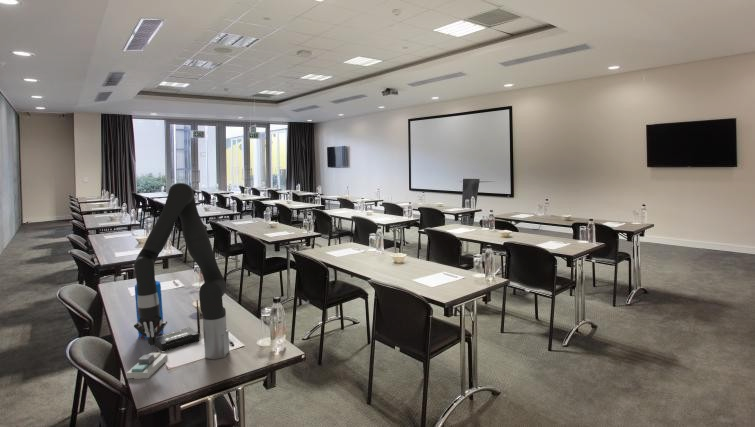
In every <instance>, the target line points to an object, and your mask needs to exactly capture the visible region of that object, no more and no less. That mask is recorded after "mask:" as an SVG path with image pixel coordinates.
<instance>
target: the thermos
mask: <svg viewBox="0 0 755 427" xmlns="http://www.w3.org/2000/svg"><path fill="white" fill-rule="evenodd" d="M155 281H156V286H157V294H158V298H159V308H160V317H161V320H163V321H164V312H163V300H162V286H161V282H160V281H158V280H155ZM134 296H135V308H136V320H137V321H136V323H138V322H139V319H140V317H139V310H138V301H137V299H138V294H137V283H136V284H135V285H134ZM159 328H160V323H159V324H158V326H157V330H158V329H159ZM137 333H138V338H139V339H142V340H148V337H147V336H142V335H141V333H140V332H139V331H138V330H137ZM161 335H164V329H163V330H162V331H161V333H160V334H159V335H156V337H157V336H161Z"/></svg>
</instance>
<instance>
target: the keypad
mask: <svg viewBox="0 0 755 427" xmlns="http://www.w3.org/2000/svg"><path fill="white" fill-rule="evenodd" d="M148 354H149V353H147V354H146V355H148ZM168 358H169V357H168V353H160V356H159V357H158V358H157V359H156V360H154V362H153V363H152V364H151V365H149V366H148V367H147V368H146V369H145V370H144V371H143V372H132V368H134V367H135V366H136V365H137V364H139V361H138V362H137V363H136V364H134V365H133V366H132V367H131V368H130V369H129V370H128V371H127V372H126V379H127V378H134V379H133V380H139V379H140V380H145V379H146V380H149V379H150V377H152V375H154V374H155V372H157V370H159V368H160V367H162V366H163V364H165V363H166V362H167V361H168V360H167V359H168ZM166 360H167V361H166ZM165 361H166V362H165Z"/></svg>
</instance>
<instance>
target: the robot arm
mask: <svg viewBox="0 0 755 427" xmlns="http://www.w3.org/2000/svg"><path fill="white" fill-rule="evenodd" d="M194 192H195V191H194V189H193V187H192V186H190V185H189V184H188V183H186V182H177V183H174V184H172V185H171V186H170V188H169V190H168V194H167V197H166V200H165V203H164V206H163V208H162V211H161V212H160V215H159V217H158V219H157V220H156V221H155V224H154V225H153V227H152V229H151V230H150V232H149V234H148V236H147V238H146V240H145V242H144V245H143V247H142V249H141V250H140V251H139V253H138V255H137V256H136V259H135V260H134V264H133V268H134V269H133V270H134V275H135V279H136V280H135V281H136V284H137V294H138V299H137V301H138V310H139V317H140V319H139V322H138V323H137V322H136V323H135V324H133V328H135V330H137V332H138V331H139V332H140V333H141V335H142V336H147V337H148V339H147V343H148V345H149V346H150V347H152V346H153V347H155V344H156V343H157V337H156V335H159V334H160V333H161V331H162V330H163V331H164V328H165V327H166V326H167V325H168V321H167V320H166V321H164V319H163V320H161V317H160V308H159V298H158V294H157V286H156V281H157V280H156V275H155V274H156V273H155V271H156V270H155V263H156V261H157V259H158V257H159V255H160V253H161V252H162V251H163V250H164V249H165V247H166V244H167V242H168V240H169V238H170V236H171V234H172V232H173V229H174V226H175V224H176V221H178V220H177V219H178V218H179V219H180V224H181V230H182V234H183V240H184V242H185V246H186V248H187V251H188V254H189V256H190V257H191V258H192V259H193V261H194V262H195V264H196V265H197V266H198V268H199V269H200V272H201V275H202V277H203V284H202V285H201V286H200V288H199V291H198V292H199V293H198V296H199V307H200V313H201V314H202V328H203V329H202V330H203V331H202V332H203V343H204V344H203V345H204V358H206V359H207V360H217V359H222V358H226V357H227V355H228V354H229V352H230V337H229V330H227V315H226V314H227V313H226V308H225V307H224V304H223V296H225V293H226V292H227V284H226V281H225V279H224V276H223V274H222V271H221V270H220V267H219V264H218V263H217V260H216V256H215V253H214V250H213V247H212V243H211V240H210V237H209V234H208V231H207V229H206V226H205V224H204V223H203V220H202V218H201V216H200V213H199V212H198V211H199V210H198V208H197V203H196V199H195V198H196V197H195V193H194ZM159 323H160V328H159V329H158V330H157V326H158V324H159Z"/></svg>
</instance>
